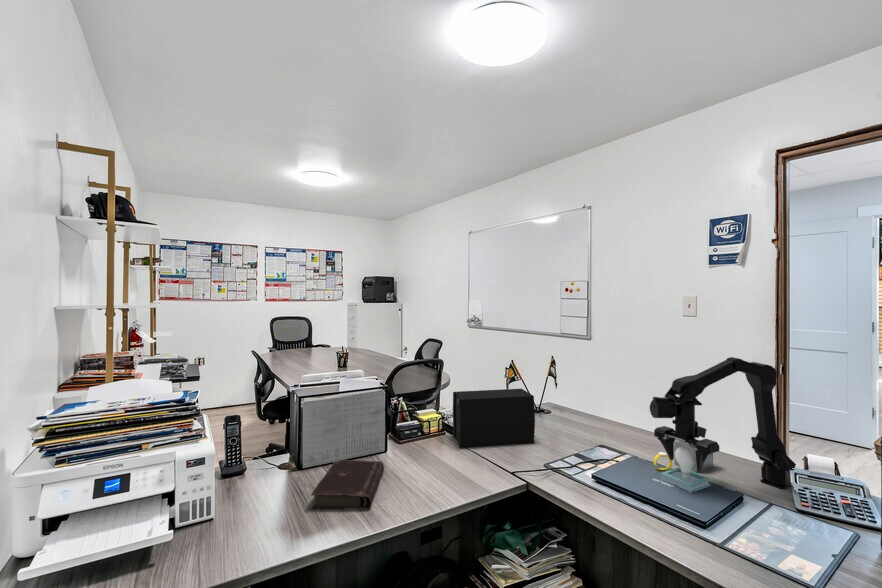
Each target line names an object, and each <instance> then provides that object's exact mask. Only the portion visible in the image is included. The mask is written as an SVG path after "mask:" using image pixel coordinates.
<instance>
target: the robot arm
mask: <svg viewBox="0 0 882 588" xmlns="http://www.w3.org/2000/svg"><path fill="white" fill-rule="evenodd" d="M738 372H741V373H743V374H744V375H745V378H746V381H747V383H748V384H749V386H750V387H751V388H752V391H753V399H754V406H755V414H756V415H755V416H756V422H757V433H756V435H755V436H751V438H750V440H751V443H752V444H751V445H752V446H751V449H752V450H754V453H755V454H756V455H757V456H758V459H759V460H760V461H762V465H761V466H760V467H761V469H760V470H761V476H760V477H761V479H760V482H761V483H764V484H766V485H769V486H773V487H775V488H779V489H781V490H786V489H788V488H791V487H792V485H791V483H792V482H791V471H795V469H792V468H796V466H797V463H795V461H793V460H792V459H791V457H789V455H788V454H787V453H788V452H787V450H786V447H785V444H784V443H783V441H782V439H781V438H780V437H779V435H778V428H777V421H776V420H777V419H776V411H775V402H774V396H773V391H774V389H775V387H776V385H777V380H778V378H777V377H778V372H777V369H776V368H774V367H773V365H770V364H767V363H766V364H764V363H761V362H756V361H752V362H750V361H746V360H743V359H742V358H738V357H734V356H729V357H727V358H726V359H725V360H722V361H721V362H719V363H717V364H715V365H713V366H711V367H709V368H707V369H705V370H703V371H701V372H699V373H697V374H693V375H687V376H681V377H679V378H675V379H674V380H673V381H672V384H671V386H670V388H669V389H668V390H667V392H666V393H665V394H664V397H662V396H661V397H660V396H659V397H658V396H653V397H652V400H651V401H650V404H649V412H650V415H651V416H652V418H654V419H672V421H671V422H672V424H674V428H672V427H669V426H665V425H663V426H659V427H656V428H654V430H653V433H654V434H653V436H654V437H656V438H657V440H659V442H660V444H661V445H662V446H663V449H664V450H665V453H666V454H667V455H668V456H669V458H670V460H672V461H674V443H675V442H676V440H678V441H684V442H687V443H690V444H693V445H696V448H697V451H695V453H696V463H697V469H698V470H699V471H700V470H701V469H702V467H703V464H704V462H705V460H706V458H707V456H708V455H709V454H712V453H713V454H714V453H718V452H720V444H719V443H718V441H715V440H711V439H709V438H706V433H707V428H705V427H702V426H699V423H698V421H696V406H702V405H703V403H702V402H700V401H699V400H698V398H697V397H699V395H701V394H702V393H703V392H704V390H705V389H706V388H708V387H709V386H712V385H714V384H716V383H717V382H719V381H721V380H724V379H725V378H727V377H729V376H731V375H734V374H735V373H738ZM700 437H701V438H703V439H700V440H699V439H698V438H700ZM700 472H701V471H700Z"/></svg>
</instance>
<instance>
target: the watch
mask: <svg viewBox="0 0 882 588" xmlns="http://www.w3.org/2000/svg"><path fill="white" fill-rule="evenodd" d="M662 457H663V458H668V465H667V466H666V467H665V468H664V467H663V468H662V467H661V468H659V467H658V465H657V461H658V459H659V458H662ZM653 465H654V466H655V465H656V466H657V467H658V468H656V469H657V470H658V471H660V470H661V472H665V471H668V470H671V469H672V467H673V460H670V458H669V456H668V454H667V452H663V451H659V452H658V453H657V454H656V455H655V456H654V458H653ZM667 469H668V470H667ZM662 470H663V471H662ZM664 470H665V471H664Z"/></svg>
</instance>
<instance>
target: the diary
mask: <svg viewBox="0 0 882 588" xmlns="http://www.w3.org/2000/svg"><path fill="white" fill-rule="evenodd" d="M384 471H385V466H384V462H383V461H380V460H379V461H375V460H374V461H373V460H359V459H355V460H353V459H352V460H350V459H345V460H335V461H333V463H332V464H331V465H330V467H329V469H328V470H327V471H326V473H325V474H324V476H323V477H322V478H321V480H319V482H318V483H317V485H316V486H315V488H314V489H313V490H312V492H311V494H310V495H311V496H314V504H313V505H312V507H311V508H310V510H315V511H316V510H320V511H321V510H331V511H332V510H334V511H335V510H342V511H343V510H345V509H359V508H361V510H363V509H364V508H365V507H366V506H367V505H368V502H369V506H368V509H367V510H370V509H371V506H372V503H373V502H374V498H375V495H376V493H377V490H378V487H379V485H380V482H381V480H382V479H381V478H382V476H383V474H384ZM362 503H363V505H362ZM361 505H362V507H361Z"/></svg>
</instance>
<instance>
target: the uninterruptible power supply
mask: <svg viewBox="0 0 882 588" xmlns="http://www.w3.org/2000/svg"><path fill="white" fill-rule="evenodd" d="M535 411H536V410H535V397H534V395H533V394H531V393H529V392H528V391H526V390H525V389H523V388H508V389H505V388H504V389H488V390H487V389H484V390H481V389H480V390H464V391H463V390H462V391H460V390H459V391H453V392H452V431H453V433H452V434H453V435H452V436H453V438H454V439H456V441H457V443H458V447H459V449H465V448H466V449H468V448H469V449H470V448H482V447H483V448H485V447H496V446H497V447H498V446H512V445H526V444H527V445H528V444H535V433H536V432H535V431H536V430H535V428H536V426H535V425H536V413H535Z"/></svg>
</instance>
